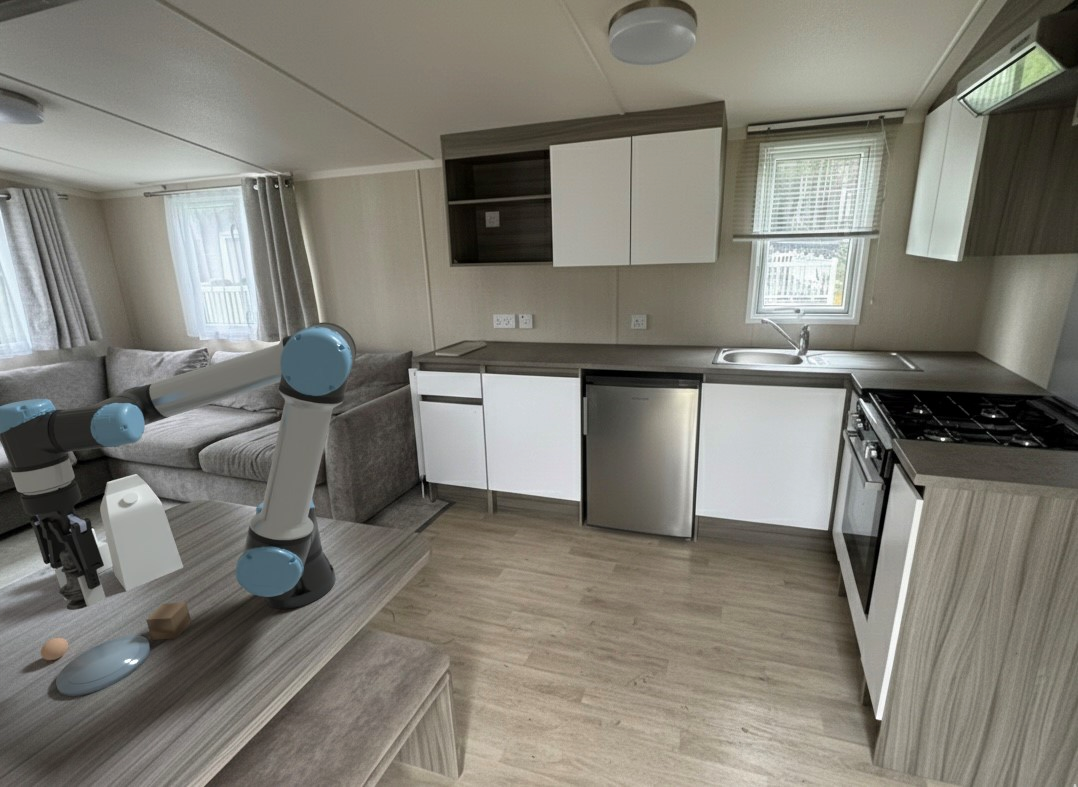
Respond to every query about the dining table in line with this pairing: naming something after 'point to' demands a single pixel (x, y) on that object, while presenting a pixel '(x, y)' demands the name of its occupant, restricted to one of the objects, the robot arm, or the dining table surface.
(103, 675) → the plate
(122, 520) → the milk
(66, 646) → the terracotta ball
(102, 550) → the medicine bottle
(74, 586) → the stone chess piece
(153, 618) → the walnut block
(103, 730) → the dining table surface
